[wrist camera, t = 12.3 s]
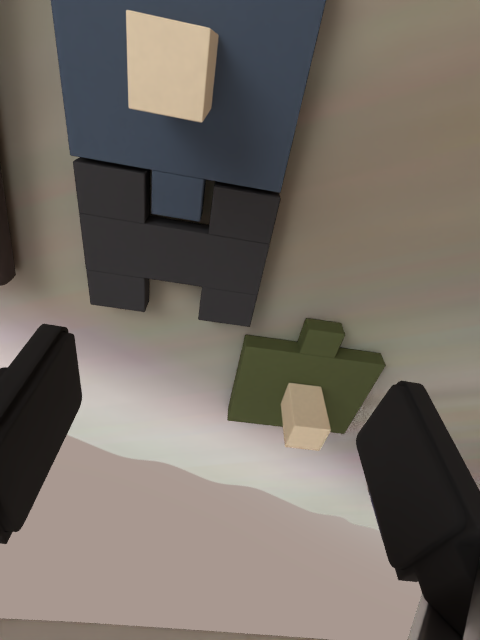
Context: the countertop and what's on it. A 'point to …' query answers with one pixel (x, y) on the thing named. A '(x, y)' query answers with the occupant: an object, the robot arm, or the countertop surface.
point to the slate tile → (184, 142)
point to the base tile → (171, 242)
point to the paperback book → (5, 242)
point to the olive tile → (303, 383)
